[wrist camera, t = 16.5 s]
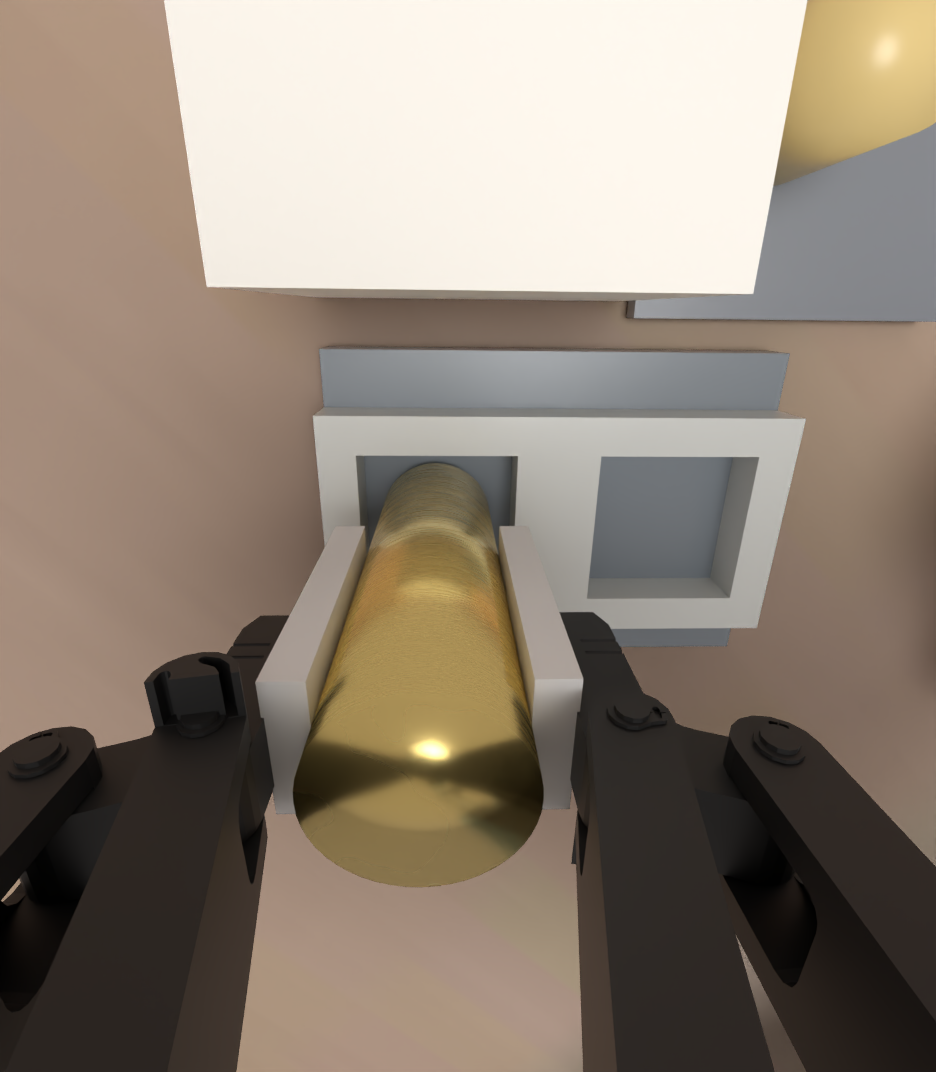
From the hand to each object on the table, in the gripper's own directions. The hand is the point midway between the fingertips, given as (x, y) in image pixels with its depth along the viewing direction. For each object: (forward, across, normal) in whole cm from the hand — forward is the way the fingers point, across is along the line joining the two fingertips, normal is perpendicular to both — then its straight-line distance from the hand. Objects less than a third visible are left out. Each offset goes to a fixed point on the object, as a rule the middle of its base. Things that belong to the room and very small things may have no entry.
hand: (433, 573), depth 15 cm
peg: (+4, 0, 0) cm, 4 cm away
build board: (+6, -4, 0) cm, 7 cm away
